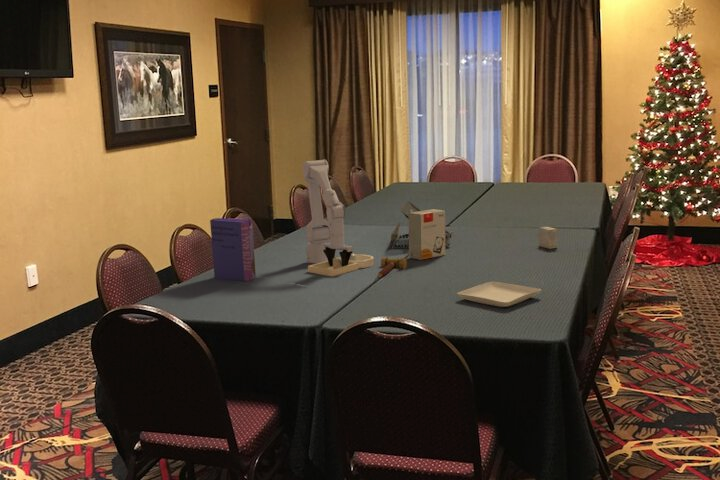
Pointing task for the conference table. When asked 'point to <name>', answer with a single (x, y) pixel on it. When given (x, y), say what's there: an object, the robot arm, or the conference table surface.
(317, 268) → the tray
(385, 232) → the conference table surface
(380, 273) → the gavel
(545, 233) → the medicine box
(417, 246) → the hard drive box
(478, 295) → the salad plate
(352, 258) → the stone
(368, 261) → the bowl
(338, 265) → the stone
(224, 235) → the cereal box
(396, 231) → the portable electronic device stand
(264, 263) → the conference table surface
